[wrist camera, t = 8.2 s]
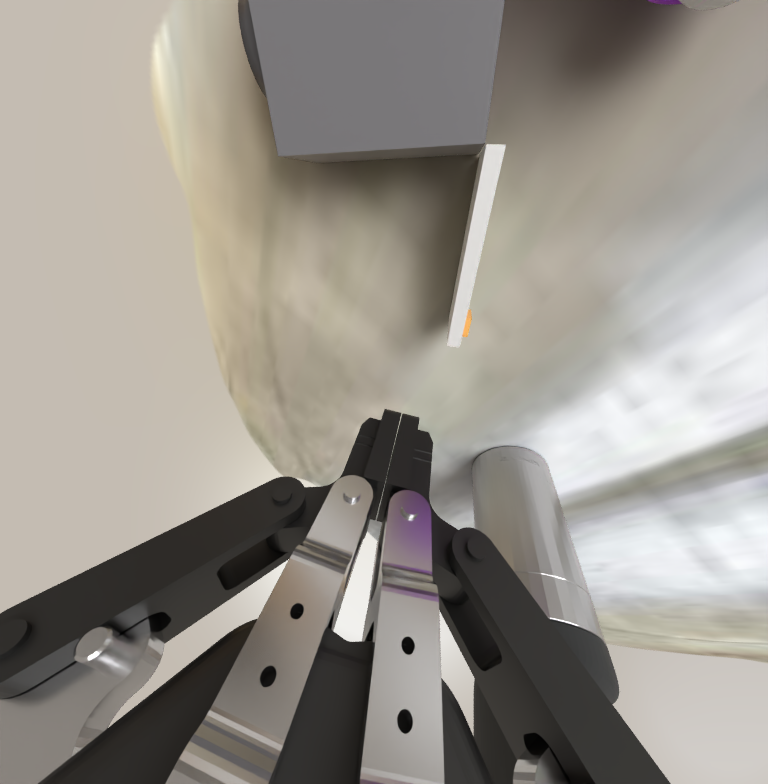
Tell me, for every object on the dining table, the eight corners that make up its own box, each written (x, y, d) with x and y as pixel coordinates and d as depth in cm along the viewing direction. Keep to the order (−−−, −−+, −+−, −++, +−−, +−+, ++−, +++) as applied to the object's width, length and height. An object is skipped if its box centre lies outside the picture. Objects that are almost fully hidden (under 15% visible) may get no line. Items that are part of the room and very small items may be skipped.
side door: (504, 154, 19) (517, 145, 15) (465, 322, 26) (467, 348, 22) (480, 153, 19) (486, 144, 15) (448, 320, 26) (446, 345, 22)
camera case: (478, 154, 19) (485, 142, 14) (303, 163, 22) (254, 156, 17) (513, -115, 14) (547, -303, 8) (268, -61, 16) (177, -180, 11)
